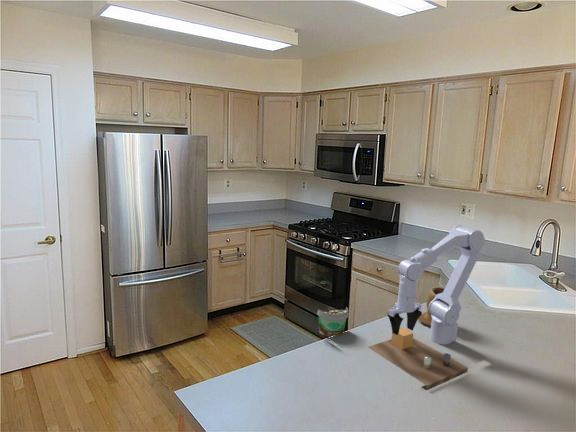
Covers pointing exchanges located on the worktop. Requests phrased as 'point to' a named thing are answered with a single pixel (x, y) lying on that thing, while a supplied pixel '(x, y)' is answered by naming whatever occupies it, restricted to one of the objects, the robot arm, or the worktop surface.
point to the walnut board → (420, 362)
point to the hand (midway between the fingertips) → (402, 331)
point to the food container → (332, 322)
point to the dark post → (446, 359)
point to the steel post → (427, 362)
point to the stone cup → (426, 316)
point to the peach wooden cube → (402, 338)
